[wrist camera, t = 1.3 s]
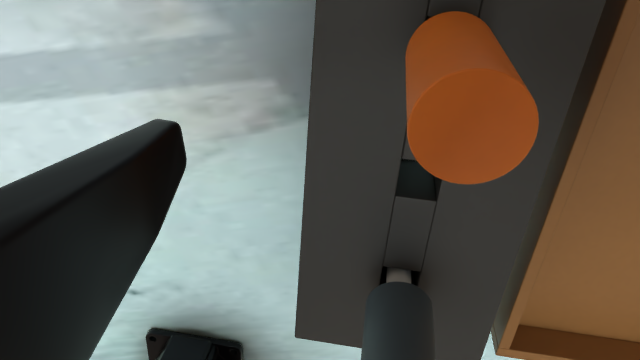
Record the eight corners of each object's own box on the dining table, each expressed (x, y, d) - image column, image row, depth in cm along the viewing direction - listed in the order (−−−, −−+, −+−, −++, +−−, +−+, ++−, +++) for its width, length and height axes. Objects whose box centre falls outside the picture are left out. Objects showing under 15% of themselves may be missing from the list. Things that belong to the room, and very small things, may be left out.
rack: (601, -100, 18) (641, -98, 15) (470, 318, 29) (478, 367, 26) (335, -122, 19) (323, -123, 16) (305, 293, 30) (294, 338, 27)
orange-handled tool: (468, 60, 22) (519, 192, 12) (399, 53, 22) (398, 176, 13) (484, -12, 20) (556, 76, 11) (410, -19, 21) (418, 61, 11)
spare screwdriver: (422, 264, 28) (432, 458, 18) (368, 257, 28) (351, 444, 19) (432, 221, 26) (449, 408, 17) (375, 213, 26) (360, 392, 17)
